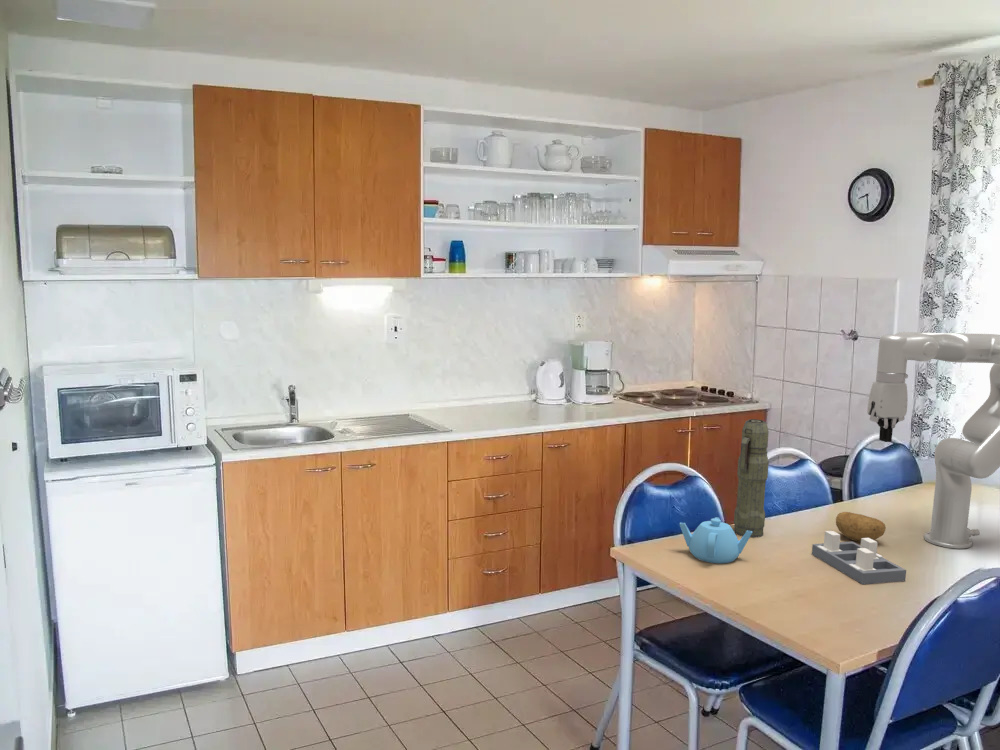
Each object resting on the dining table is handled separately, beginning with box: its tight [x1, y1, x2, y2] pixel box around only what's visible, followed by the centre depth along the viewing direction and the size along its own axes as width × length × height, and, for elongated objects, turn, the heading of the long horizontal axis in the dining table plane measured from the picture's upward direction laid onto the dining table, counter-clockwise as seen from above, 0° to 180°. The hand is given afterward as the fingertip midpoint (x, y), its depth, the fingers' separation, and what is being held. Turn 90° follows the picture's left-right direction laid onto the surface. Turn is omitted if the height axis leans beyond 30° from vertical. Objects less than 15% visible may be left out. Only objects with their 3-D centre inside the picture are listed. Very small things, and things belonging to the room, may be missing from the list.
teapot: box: [679, 516, 752, 564], centre depth 229 cm, size 15×15×11 cm
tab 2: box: [856, 538, 880, 559], centre depth 224 cm, size 4×4×6 cm
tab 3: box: [853, 548, 876, 571], centre depth 215 cm, size 4×4×6 cm
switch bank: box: [811, 540, 907, 585], centre depth 223 cm, size 13×22×3 cm, turn 13°
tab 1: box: [822, 530, 842, 552], centre depth 229 cm, size 4×4×6 cm
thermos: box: [733, 418, 770, 538], centre depth 247 cm, size 9×12×35 cm
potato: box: [835, 511, 886, 543], centre depth 245 cm, size 10×14×8 cm
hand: (885, 440), depth 235 cm, fingers closed
